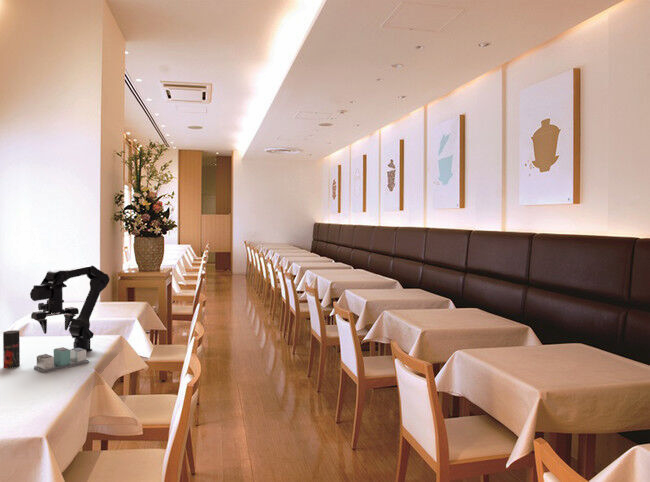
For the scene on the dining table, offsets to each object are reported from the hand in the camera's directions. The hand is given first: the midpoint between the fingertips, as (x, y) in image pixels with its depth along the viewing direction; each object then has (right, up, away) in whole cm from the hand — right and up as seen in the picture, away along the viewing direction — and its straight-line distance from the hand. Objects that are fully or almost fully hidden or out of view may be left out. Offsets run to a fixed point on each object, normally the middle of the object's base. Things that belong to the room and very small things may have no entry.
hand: (55, 331), depth 227 cm
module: (+9, -12, -11) cm, 18 cm away
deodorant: (-12, -13, -13) cm, 22 cm away
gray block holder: (+9, -13, -11) cm, 19 cm away
